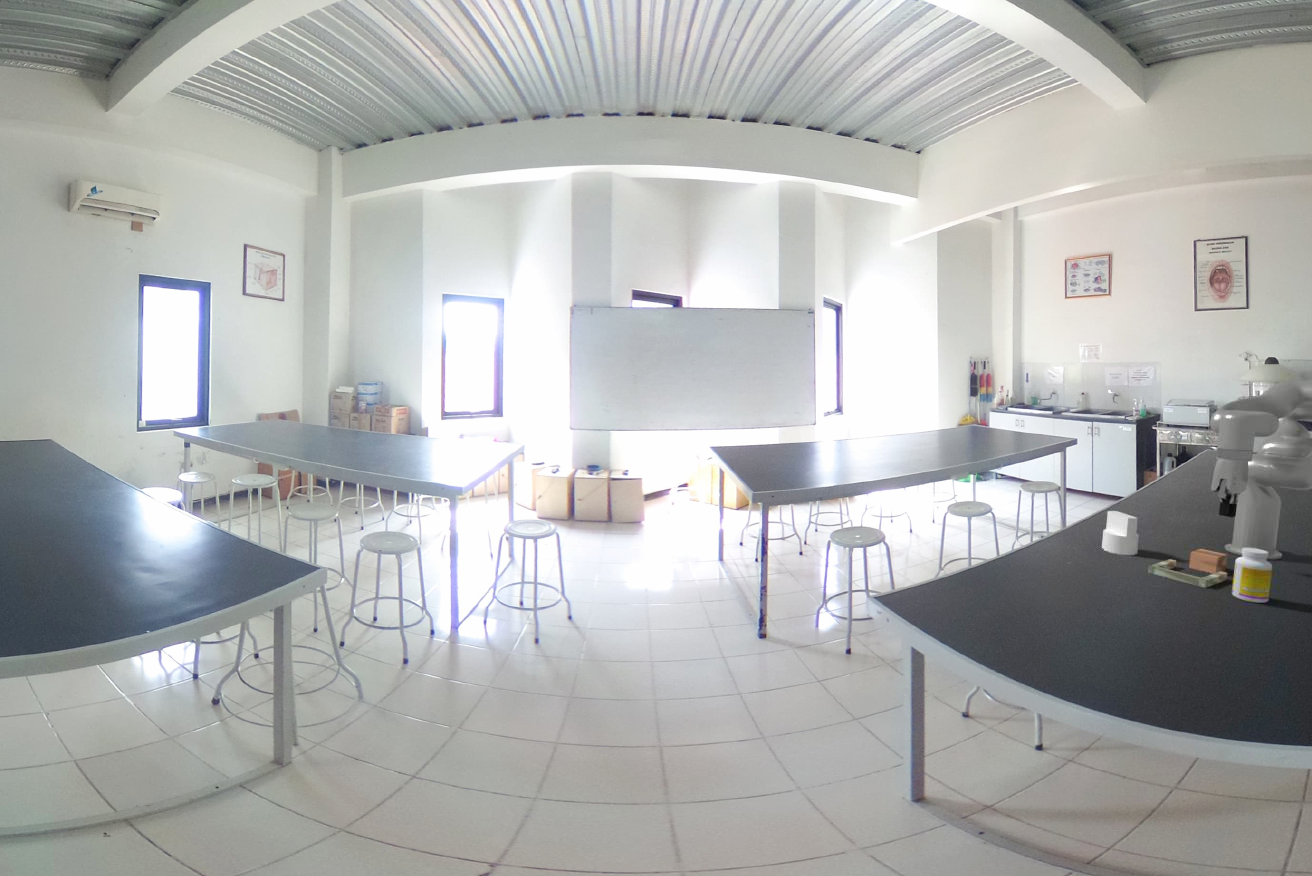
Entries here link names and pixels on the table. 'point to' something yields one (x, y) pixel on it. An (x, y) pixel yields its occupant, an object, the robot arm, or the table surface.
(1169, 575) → the walled lane
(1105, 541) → the base with upright slab
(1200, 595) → the table surface
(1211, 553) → the terracotta block
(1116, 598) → the table surface
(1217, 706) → the table surface
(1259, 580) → the supplement bottle
